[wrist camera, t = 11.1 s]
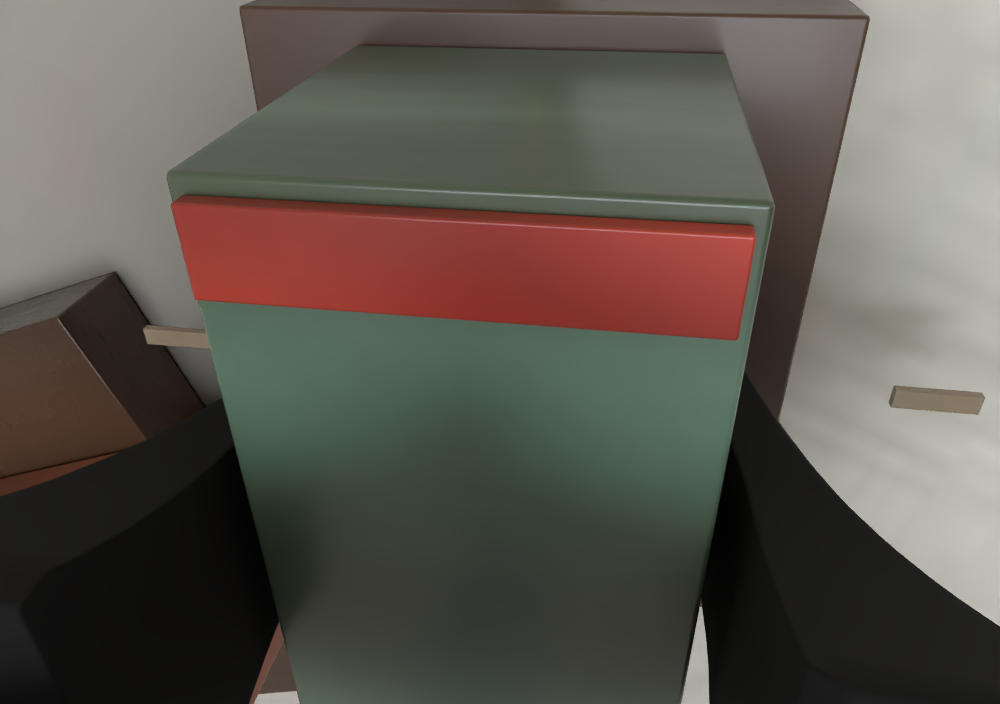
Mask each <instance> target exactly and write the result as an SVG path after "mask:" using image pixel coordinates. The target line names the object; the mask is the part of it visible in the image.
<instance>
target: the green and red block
mask: <svg viewBox="0 0 1000 704" xmlns="http://www.w3.org/2000/svg"><path fill="white" fill-rule="evenodd" d="M167 181H168V185H169V189H170V193H171V197H172V201H173V202H172V203H171V208H172V212H173V216H174V220H175V224H176V228H177V232H178V235H179V239H180V243H181V247H182V251H183V255H184V259H185V263H186V267H187V271H188V275H189V278H190V282H191V286H192V290H193V294H194V298H195V299H196V300H198V303H199V307H200V311H201V315H202V319H203V323H204V327H205V331H206V335H207V339H208V343H209V347H210V351H211V354H212V358H213V362H214V366H215V370H216V374H217V378H218V382H219V386H220V390H221V394H222V398H223V402H224V406H225V410H226V414H227V418H228V421H229V425H230V429H231V433H232V437H233V441H234V445H235V449H236V453H237V457H238V461H239V465H240V469H241V473H242V477H243V481H244V485H245V488H246V492H247V496H248V500H249V504H250V508H251V512H252V516H253V520H254V524H255V528H256V532H257V536H258V540H259V544H260V548H261V552H262V555H263V559H264V563H265V567H266V571H267V575H268V579H269V583H270V587H271V591H272V595H273V599H274V603H275V607H276V611H277V615H278V618H279V622H280V626H281V630H282V634H283V638H284V642H285V646H286V650H287V654H288V658H289V662H290V666H291V670H292V674H293V678H294V682H295V685H296V689H297V693H298V697H299V701H300V704H681V702H682V697H683V692H684V686H685V681H686V676H687V670H688V665H689V660H690V655H691V649H692V644H693V639H694V633H695V628H696V623H697V618H698V612H699V607H700V602H701V596H702V591H703V586H704V581H705V575H706V570H707V565H708V559H709V554H710V549H711V544H712V538H713V533H714V528H715V522H716V517H717V512H718V507H719V501H720V496H721V491H722V485H723V480H724V475H725V470H726V464H727V459H728V454H729V448H730V443H731V438H732V433H733V427H734V422H735V417H736V411H737V406H738V401H739V396H740V390H741V385H742V380H743V375H744V369H745V364H746V359H747V353H748V348H749V343H750V338H751V332H752V327H753V322H754V316H755V311H756V306H757V301H758V295H759V290H760V285H761V279H762V274H763V269H764V264H765V258H766V253H767V248H768V242H769V237H770V232H771V227H772V221H773V216H774V211H775V204H774V201H773V198H772V195H771V192H770V188H769V185H768V182H767V179H766V176H765V173H764V170H763V167H762V164H761V161H760V158H759V155H758V152H757V149H756V146H755V143H754V139H753V136H752V133H751V130H750V127H749V124H748V121H747V118H746V115H745V112H744V109H743V106H742V103H741V100H740V97H739V94H738V91H737V87H736V84H735V81H734V78H733V75H732V72H731V69H730V66H729V63H728V60H727V57H726V55H724V54H706V53H663V52H619V51H576V50H533V49H489V48H446V47H403V46H360V45H358V46H356V47H354V48H353V49H351V50H350V51H348V52H347V53H345V54H344V55H342V56H341V57H339V58H338V59H336V60H335V61H333V62H332V63H330V64H329V65H327V66H326V67H324V68H323V69H321V70H320V71H318V72H317V73H315V74H314V75H312V76H311V77H309V78H308V79H306V80H305V81H303V82H302V83H300V84H299V85H297V86H296V87H294V88H293V89H291V90H290V91H288V92H287V93H285V94H284V95H282V96H281V97H279V98H278V99H276V100H275V101H273V102H272V103H270V104H269V105H267V106H266V107H264V108H263V109H261V110H260V111H258V112H257V113H255V114H254V115H252V116H251V117H249V118H248V119H246V120H245V121H243V122H242V123H240V124H239V125H237V126H236V127H234V128H233V129H231V130H230V131H228V132H227V133H225V134H224V135H222V136H221V137H219V138H218V139H216V140H215V141H213V142H212V143H210V144H209V145H207V146H206V147H204V148H203V149H201V150H200V151H198V152H197V153H195V154H194V155H192V156H191V157H189V158H188V159H186V160H185V161H183V162H182V163H180V164H179V165H177V166H176V167H174V168H173V169H171V170H170V171H168V173H167Z"/></svg>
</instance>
